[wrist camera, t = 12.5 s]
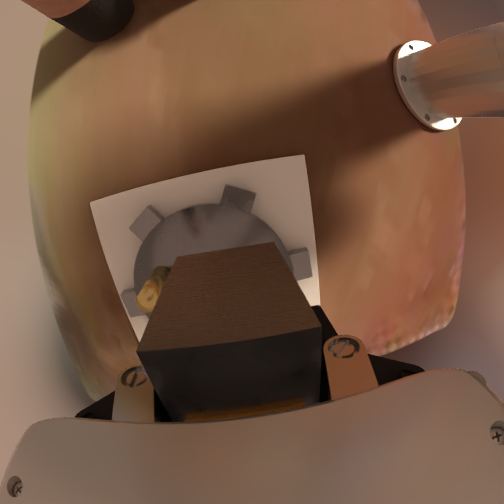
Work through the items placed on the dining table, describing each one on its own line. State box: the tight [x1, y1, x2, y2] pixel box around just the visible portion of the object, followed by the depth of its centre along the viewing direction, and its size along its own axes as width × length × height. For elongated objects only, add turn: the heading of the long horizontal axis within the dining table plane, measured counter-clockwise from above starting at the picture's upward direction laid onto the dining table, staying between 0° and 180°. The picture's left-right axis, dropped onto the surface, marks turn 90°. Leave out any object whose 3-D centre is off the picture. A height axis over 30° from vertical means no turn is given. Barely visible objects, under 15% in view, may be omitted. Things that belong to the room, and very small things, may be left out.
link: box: [136, 242, 322, 422], centre depth 9 cm, size 4×6×6 cm, turn 7°
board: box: [90, 155, 320, 342], centre depth 29 cm, size 23×23×1 cm
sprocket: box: [120, 184, 313, 319], centre depth 25 cm, size 21×20×7 cm
